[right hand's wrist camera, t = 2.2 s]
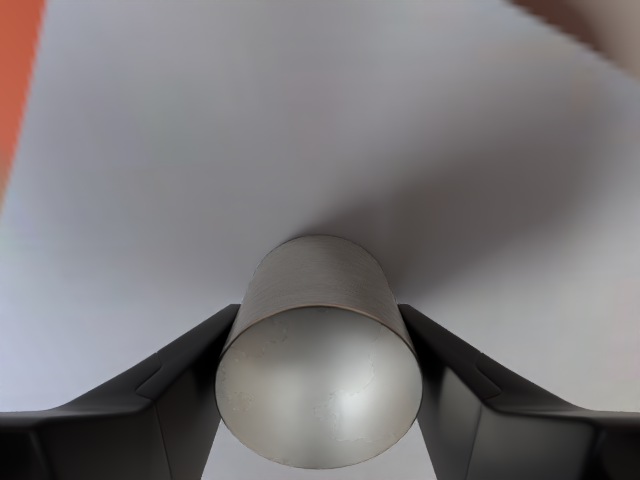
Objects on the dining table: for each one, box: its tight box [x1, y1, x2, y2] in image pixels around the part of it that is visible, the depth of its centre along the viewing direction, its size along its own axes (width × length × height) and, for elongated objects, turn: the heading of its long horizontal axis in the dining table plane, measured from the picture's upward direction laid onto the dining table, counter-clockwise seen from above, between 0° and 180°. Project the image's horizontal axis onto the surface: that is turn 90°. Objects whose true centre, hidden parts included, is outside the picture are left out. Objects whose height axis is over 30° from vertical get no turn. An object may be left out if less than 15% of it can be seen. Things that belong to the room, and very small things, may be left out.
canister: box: [213, 235, 424, 469], centre depth 10 cm, size 5×5×4 cm
